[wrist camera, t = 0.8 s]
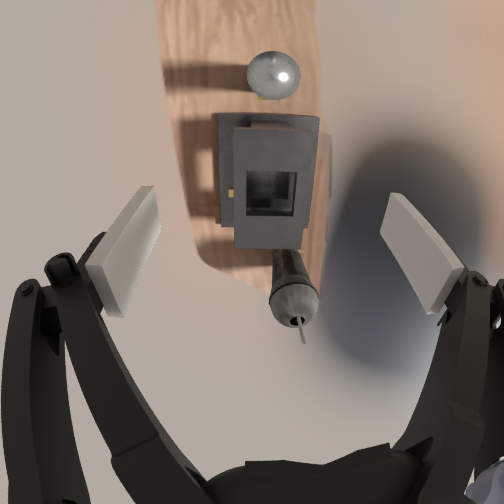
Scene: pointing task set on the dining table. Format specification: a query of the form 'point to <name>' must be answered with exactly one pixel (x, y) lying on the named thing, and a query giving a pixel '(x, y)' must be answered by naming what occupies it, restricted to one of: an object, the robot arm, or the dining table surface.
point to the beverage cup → (292, 291)
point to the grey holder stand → (266, 177)
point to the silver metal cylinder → (273, 75)
